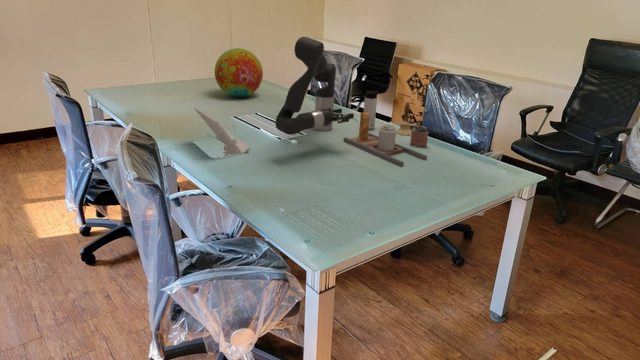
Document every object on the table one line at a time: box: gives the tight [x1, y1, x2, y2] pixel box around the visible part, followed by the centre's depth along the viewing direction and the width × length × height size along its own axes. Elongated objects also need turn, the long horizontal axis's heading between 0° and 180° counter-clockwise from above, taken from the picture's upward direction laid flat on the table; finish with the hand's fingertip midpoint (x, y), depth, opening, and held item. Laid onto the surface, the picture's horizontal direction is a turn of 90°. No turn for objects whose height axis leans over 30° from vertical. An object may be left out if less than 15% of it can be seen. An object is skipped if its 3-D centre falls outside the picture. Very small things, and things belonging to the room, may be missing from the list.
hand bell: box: [396, 102, 412, 136], centre depth 233 cm, size 8×8×16 cm
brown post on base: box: [350, 111, 405, 157], centre depth 211 cm, size 24×12×14 cm, turn 37°
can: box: [377, 124, 397, 152], centre depth 207 cm, size 8×8×12 cm
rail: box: [343, 132, 428, 167], centre depth 210 cm, size 38×16×2 cm, turn 37°
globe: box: [214, 47, 264, 98], centre depth 289 cm, size 30×30×30 cm
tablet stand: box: [193, 106, 251, 156], centre depth 203 cm, size 18×25×17 cm
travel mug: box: [363, 90, 379, 131], centre depth 237 cm, size 6×7×20 cm
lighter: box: [409, 125, 430, 149], centre depth 216 cm, size 8×3×10 cm, turn 71°
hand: (347, 113), depth 209 cm, fingers open, 8 cm apart
